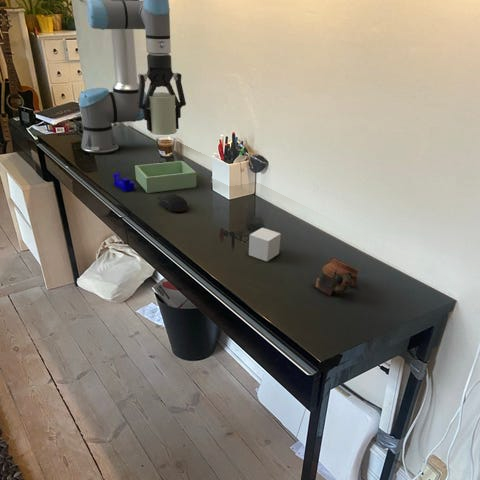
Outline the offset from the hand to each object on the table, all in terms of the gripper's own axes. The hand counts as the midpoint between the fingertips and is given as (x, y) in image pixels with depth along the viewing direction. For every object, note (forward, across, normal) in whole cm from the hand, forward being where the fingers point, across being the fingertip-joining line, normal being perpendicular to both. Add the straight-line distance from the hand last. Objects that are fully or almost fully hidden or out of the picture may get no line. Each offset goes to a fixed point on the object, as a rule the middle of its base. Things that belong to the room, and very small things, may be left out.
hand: (163, 129), depth 165 cm
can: (+1, 0, 0) cm, 1 cm away
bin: (+19, 0, 0) cm, 19 cm away
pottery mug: (+19, +15, -86) cm, 89 cm away
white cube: (+19, +7, -63) cm, 66 cm away
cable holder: (+19, -15, +1) cm, 24 cm away
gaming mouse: (+19, -5, -21) cm, 28 cm away
